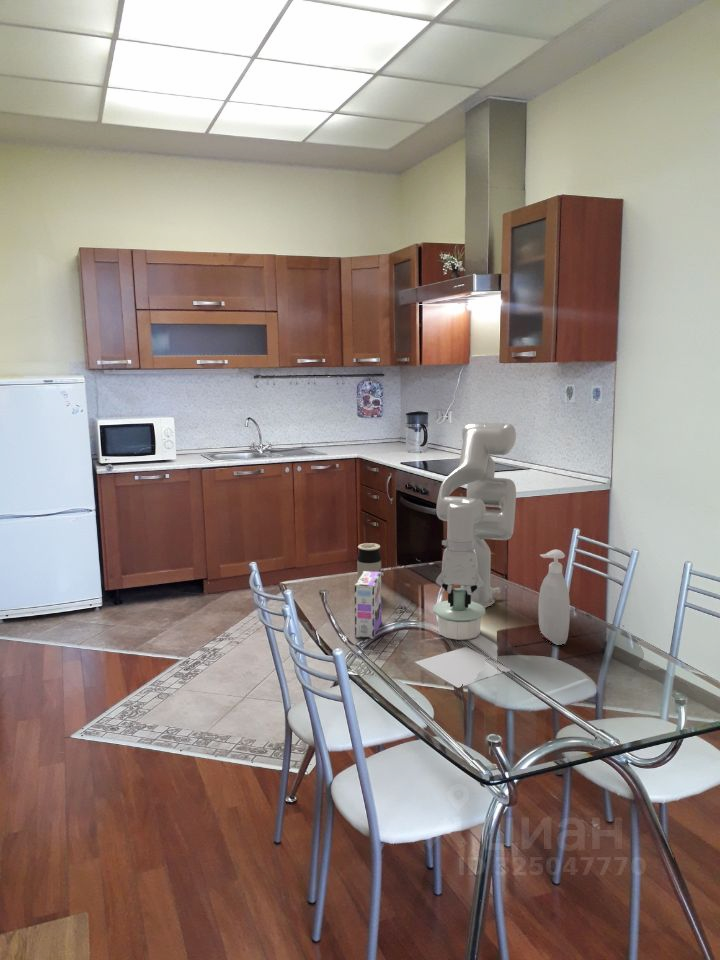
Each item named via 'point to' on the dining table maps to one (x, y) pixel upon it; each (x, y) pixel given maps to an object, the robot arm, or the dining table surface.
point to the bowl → (459, 628)
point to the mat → (457, 666)
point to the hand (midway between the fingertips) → (459, 605)
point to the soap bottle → (554, 601)
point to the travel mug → (368, 558)
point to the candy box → (368, 604)
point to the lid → (459, 608)
